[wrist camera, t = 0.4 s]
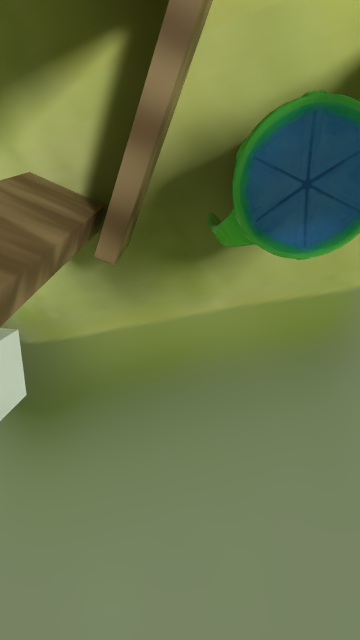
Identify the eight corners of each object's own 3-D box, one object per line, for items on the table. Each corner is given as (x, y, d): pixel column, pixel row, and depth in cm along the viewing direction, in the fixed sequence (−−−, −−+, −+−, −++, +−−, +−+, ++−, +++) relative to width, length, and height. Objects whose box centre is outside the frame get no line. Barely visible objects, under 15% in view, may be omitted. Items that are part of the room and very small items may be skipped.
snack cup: (351, 52, 26) (421, 19, 18) (383, 176, 31) (452, 198, 22) (183, 160, 31) (172, 175, 23) (231, 253, 36) (238, 295, 27)
